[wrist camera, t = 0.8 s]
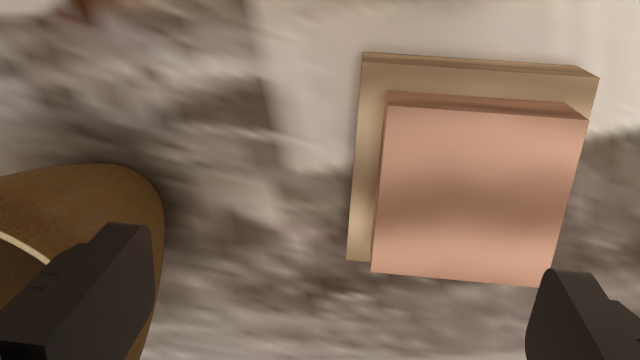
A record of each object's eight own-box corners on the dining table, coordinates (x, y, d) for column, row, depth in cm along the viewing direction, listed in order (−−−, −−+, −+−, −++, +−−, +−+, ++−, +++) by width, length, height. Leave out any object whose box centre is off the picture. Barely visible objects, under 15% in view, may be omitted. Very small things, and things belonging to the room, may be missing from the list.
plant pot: (158, 323, 42) (45, 515, 28) (-7, 222, 40) (-227, 373, 25) (256, 192, 37) (180, 344, 22) (71, 66, 34) (-151, 144, 20)
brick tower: (363, 51, 32) (361, 74, 26) (576, 66, 32) (629, 92, 25) (348, 234, 37) (343, 290, 31) (531, 250, 37) (565, 312, 30)
